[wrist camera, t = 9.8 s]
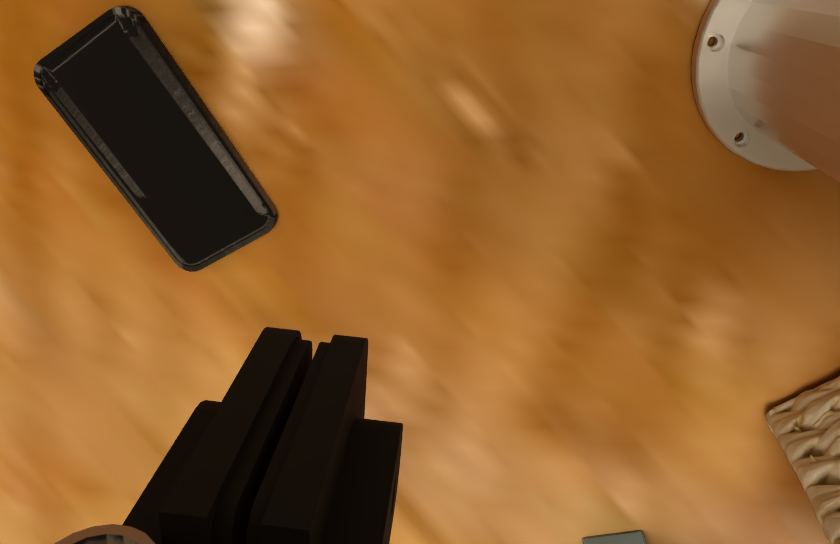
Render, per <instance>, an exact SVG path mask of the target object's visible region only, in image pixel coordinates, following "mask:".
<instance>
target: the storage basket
mask: <svg viewBox="0 0 840 544" xmlns="http://www.w3.org/2000/svg"><path fill="white" fill-rule="evenodd" d="M766 419H767V422H768V426H769V428H770V430H771V432H772V433H773V434H774V435H775V437H776V438H777V440H778V442H779V444H780V446H781V448H782V449H783V450H784V452H785V453H786V456H787V459H788V461H789V462H790V464H791V465H792V467H793V469H794V471H795V472H796V473H797V476H798V479H799V480H800V482H801V484H802V486H803V489H804V491H805V492H806V493H807V496H808V498H809V500H810V502H811V503H812V506H813V509H814V511H815V514H816V516H817V519H818V520H819V522H820V523H821V524H822V526H823V530H824V533H825V535H826V537H827V539H828V540H829V542H830V544H840V375H839V376H838V378H836V379H833V380H831V381H829V382H826V383H824V384H822V385H820V386H818V387H816V388H814V389H812V390H807V391H805V392H803V393H801V394H800V395H799V396H797V397H795V398H793V399H791V400H789V401H786V402H784V403H782V404H780V405H778V406H775V407H773V409H771V410H770V411H769V412H768V413H767V415H766Z"/></svg>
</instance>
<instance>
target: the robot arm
mask: <svg viewBox="0 0 840 544" xmlns="http://www.w3.org/2000/svg"><path fill="white" fill-rule="evenodd" d="M713 36H714V38H715V42H714V44H713V45H712V46H708V45H707V42H708V40H709V38H710V37H713ZM691 74H692V86H693V93H694V96H695V100H696V103H697V107H698V110H699V112H700V114H701V116H702V118H703V120H704V121H705V123H706V125H707V127H708V129H709V130H710V131H711V132H712V133H713V134H714V135H715V136H716V138H717V139H718V140H719V141H720V142H721V143H722V144H723V145H724V146H726V147H727V148H728V149H729V150H731V151H732V152H733V153H735V154H736V155H738V156H740V157H742V158H744V159H746V160H747V161H749V162H751V163H753V164H756V165H759V166H763V167H766V168H769V169H773V170H782V171H792V172H798V171H811V170H820V171H822V172H823V173H825V174H827V175H828V176H830V177H831V178H833V179H835V180H836V181H838V182H840V0H711V2H710V4H709V6H708V8H707V10H706V12H705V14H704V16H703V19H702V21H701V23H700V26H699V30H698V33H697V36H696V40H695V43H694V48H693V57H692V66H691ZM740 132H741V136H740V138H739V139H737V140H734V138H735V136H736V135H737V134H738V133H740ZM367 357H368V339H367V338H360V337H351V336H342V335H334V336H333V338H332V340H331V343H326V342H320V343H319V345H318V348H317V350H316V353H315V355H314V357H313V360H312V342H311V341H308V340H302V338H301V333H300V331H298V330H289V329H280V328H271V327H266V328H264V330H263V331H262V333H261V335H260V336H259V338H258V340H257V341H256V343H255V345H254V347H253V348H252V350H251V352H250V354H249V355H248V357H247V359H246V360H245V362H244V364H243V366H242V367H241V369H240V371H239V373H238V374H237V376H236V378H235V379H234V381H233V383H232V385H231V386H230V388H229V390H228V392H227V393H226V395H225V397H224V398H223V400H222V402H216V401H208V400H205V401H202V402H200V404H199V405H198V406H197V407H196V409H195V410H194V412H193V413H192V415H191V416H190V418H189V420H188V421H187V423H186V424H185V426H184V428H183V429H182V431H181V432H180V434H179V436H178V437H177V439H176V440H175V442H174V444H173V445H172V447H171V448H170V450H169V451H168V453H167V455H166V456H165V458H164V459H163V461H162V463H161V464H160V466H159V467H158V469H157V471H156V472H155V474H154V475H153V477H152V479H151V480H150V482H149V483H148V485H147V486H146V488H145V490H144V491H143V493H142V494H141V496H140V498H139V499H138V501H137V502H136V504H135V506H134V507H133V509H132V510H131V512H130V514H129V515H128V517H127V518H126V520H125V522H124V523H123V525H116V524H110V525H102V526H93V527H90V528H87V529H84V530H81V531H78V532H75V533H72V534H71V535H69V536H67V537H65V538H63V539H62V540H60V541H58V542H56V543H55V544H389V541H390V535H391V528H392V521H393V515H394V508H395V500H396V493H397V484H398V476H399V466H400V456H401V444H402V432H403V423H395V422H387V421H378V420H370V419H364V412H365V394H366V376H367Z"/></svg>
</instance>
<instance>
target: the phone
mask: <svg viewBox="0 0 840 544" xmlns="http://www.w3.org/2000/svg"><path fill="white" fill-rule="evenodd" d="M34 78H35V82H36V84H37V86H38V87H39V89H40V90H41V91H42V93H43V94H44V95H45V97H46V98H47V99H48V100H49V102H50V103H51V104H52V106H53V107H54V108H55V109H56V111H57V112H58V113H59V115H60V116H61V117H62V118H63V120H64V121H65V122H66V123H67V125H68V126H69V127H70V129H71V130H72V131H73V132H74V134H75V135H76V136H77V138H78V139H79V140H80V141H81V143H82V144H83V145H84V147H85V148H86V149H87V150H88V152H89V153H90V154H91V155H92V157H93V158H94V159H95V161H96V162H97V163H98V164H99V166H100V167H101V168H102V170H103V171H104V172H105V173H106V175H107V176H108V177H109V179H110V180H111V181H112V182H113V184H114V185H115V186H116V187H117V189H118V190H119V191H120V193H121V194H122V195H123V196H124V198H125V199H126V200H127V202H128V203H129V204H130V205H131V207H132V208H133V209H134V211H135V212H136V213H137V214H138V216H139V217H140V218H141V220H142V221H143V222H144V223H145V225H146V226H147V227H148V228H149V230H150V231H151V232H152V234H153V235H154V236H155V237H156V239H157V240H158V241H159V243H160V244H161V245H162V246H163V248H164V249H165V250H166V252H167V253H168V254H169V255H170V257H171V258H172V259H173V261H174V262H175V263H176V264H177V265H178V266H179V267H180V268H182V269H184V270H186V271H190V272H191V271H198V270H201V269H203V268H204V267H206V266H208V265H210V264H212V263H214V262H215V261H217V260H219V259H221V258H223V257H225V256H226V255H228V254H230V253H232V252H234V251H235V250H237V249H239V248H241V247H243V246H245V245H246V244H248V243H250V242H252V241H254V240H256V239H257V238H259V237H261V236H263V235H265V234H266V233H268V232H269V231H270V230H271V229H272V228H273V227H274V225H275V224H276V222H277V218H278V214H277V210H276V207H275V205H274V204H273V203H272V201H271V200H270V198H269V197H268V195H267V194H266V192H265V191H264V190H263V188H262V187H261V185H260V184H259V182H258V181H257V179H256V178H255V176H254V175H253V174H252V172H251V171H250V169H249V168H248V166H247V165H246V163H245V162H244V161H243V159H242V158H241V156H240V155H239V153H238V152H237V150H236V149H235V147H234V146H233V145H232V143H231V142H230V140H229V139H228V137H227V136H226V134H225V133H224V132H223V130H222V129H221V127H220V126H219V124H218V123H217V121H216V120H215V118H214V117H213V116H212V114H211V113H210V111H209V110H208V108H207V107H206V105H205V104H204V103H203V101H202V100H201V98H200V97H199V95H198V94H197V92H196V91H195V89H194V88H193V87H192V85H191V84H190V82H189V81H188V79H187V78H186V76H185V75H184V74H183V72H182V71H181V69H180V68H179V66H178V65H177V63H176V62H175V60H174V59H173V58H172V56H171V55H170V53H169V52H168V50H167V49H166V47H165V46H164V45H163V43H162V42H161V40H160V39H159V37H158V36H157V34H156V33H155V31H154V30H153V29H152V27H151V26H150V24H149V23H148V21H147V20H146V18H145V17H144V16H143V15H142V14H141V13H140V12H139V11H138V10H136V9H135V8H132V7H129V6H121V7H114V8H112V9H110V10H108V11H107V12H105V13H104V14H103V15H101V16H100V17H98V18H97V19H96V20H94V21H93V22H92V23H90V24H89V25H88V26H86V27H85V28H83V29H82V30H81V31H79V32H78V33H77V34H75V35H74V36H72V37H71V38H70V39H68V40H67V41H66V42H64V43H63V44H62V45H60V46H59V47H57V48H56V49H55V50H53V51H52V52H51V53H49V54H48V55H46V56H45V57H44V58H42V59H41V60H40V61H39V62H38V63H37V64H36V66H35V68H34Z"/></svg>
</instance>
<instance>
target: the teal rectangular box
mask: <svg viewBox="0 0 840 544" xmlns="http://www.w3.org/2000/svg"><path fill="white" fill-rule="evenodd" d="M583 544H646V541H645V537H644V534H643V532H642V531H635V532H626V533H618V534H607V535H599V536H592V537H585V538H583Z"/></svg>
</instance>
